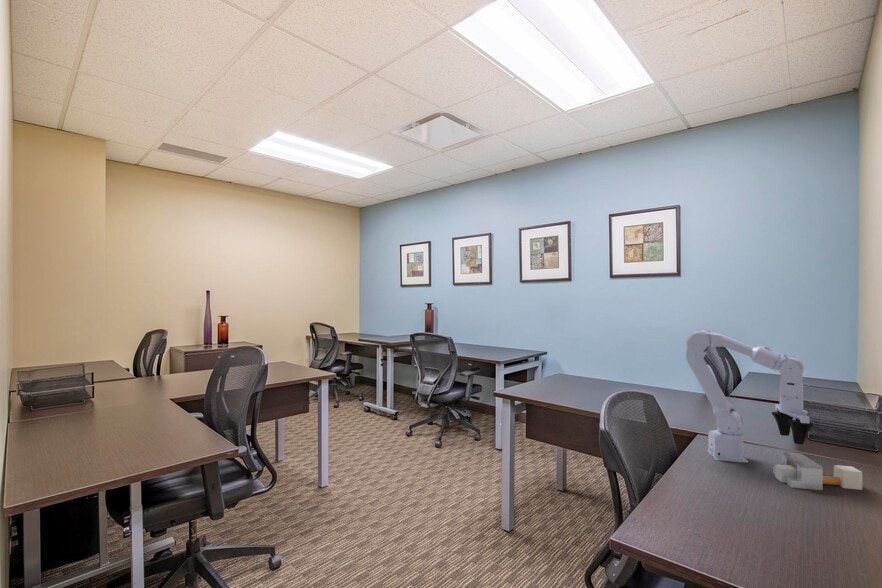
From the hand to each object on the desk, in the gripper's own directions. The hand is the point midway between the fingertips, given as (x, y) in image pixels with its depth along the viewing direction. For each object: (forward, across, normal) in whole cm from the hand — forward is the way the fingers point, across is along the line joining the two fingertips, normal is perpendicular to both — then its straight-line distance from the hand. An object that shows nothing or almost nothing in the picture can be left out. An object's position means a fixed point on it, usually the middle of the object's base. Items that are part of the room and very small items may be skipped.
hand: (791, 439), depth 130 cm
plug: (+10, -8, -2) cm, 13 cm away
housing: (+10, -8, +3) cm, 13 cm away
